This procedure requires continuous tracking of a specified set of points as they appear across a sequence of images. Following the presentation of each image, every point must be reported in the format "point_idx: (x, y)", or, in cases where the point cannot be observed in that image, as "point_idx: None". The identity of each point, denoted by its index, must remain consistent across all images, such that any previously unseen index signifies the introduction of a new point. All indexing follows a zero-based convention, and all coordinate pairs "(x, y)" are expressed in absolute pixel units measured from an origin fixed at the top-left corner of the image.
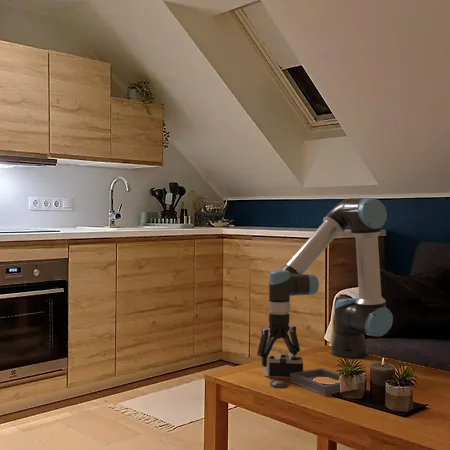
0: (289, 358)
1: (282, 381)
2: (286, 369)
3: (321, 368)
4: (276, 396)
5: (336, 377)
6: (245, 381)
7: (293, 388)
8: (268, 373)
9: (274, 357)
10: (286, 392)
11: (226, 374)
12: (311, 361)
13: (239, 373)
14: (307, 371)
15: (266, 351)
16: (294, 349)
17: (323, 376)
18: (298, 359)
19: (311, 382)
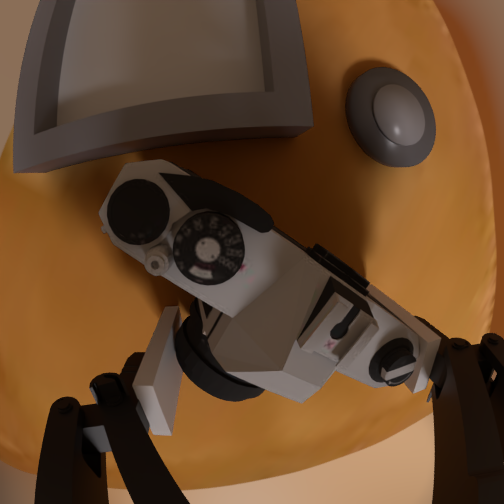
0: (250, 286)
1: (378, 108)
2: (284, 235)
3: (21, 157)
4: (441, 23)
5: (62, 8)
6: (465, 264)
7: (342, 33)
8: (374, 290)
9: (361, 373)
10: (396, 20)
11: None
12: (31, 409)
13: None
14: (147, 108)
15: (477, 375)
16: (108, 425)
17: (58, 114)
18: (177, 172)
19: None
